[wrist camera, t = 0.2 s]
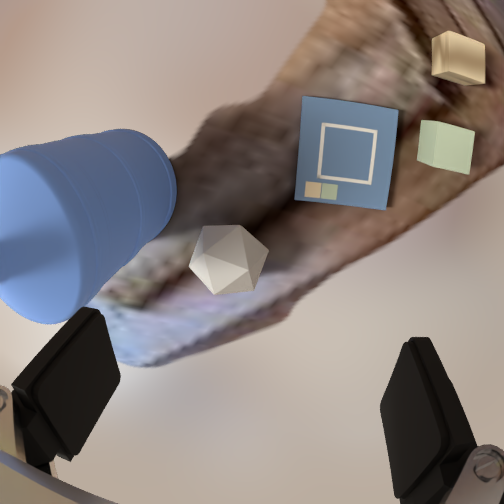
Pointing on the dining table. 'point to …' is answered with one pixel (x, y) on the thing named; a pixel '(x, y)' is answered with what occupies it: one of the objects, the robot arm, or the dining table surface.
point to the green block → (445, 146)
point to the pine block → (458, 59)
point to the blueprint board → (345, 153)
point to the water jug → (77, 217)
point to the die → (228, 259)
